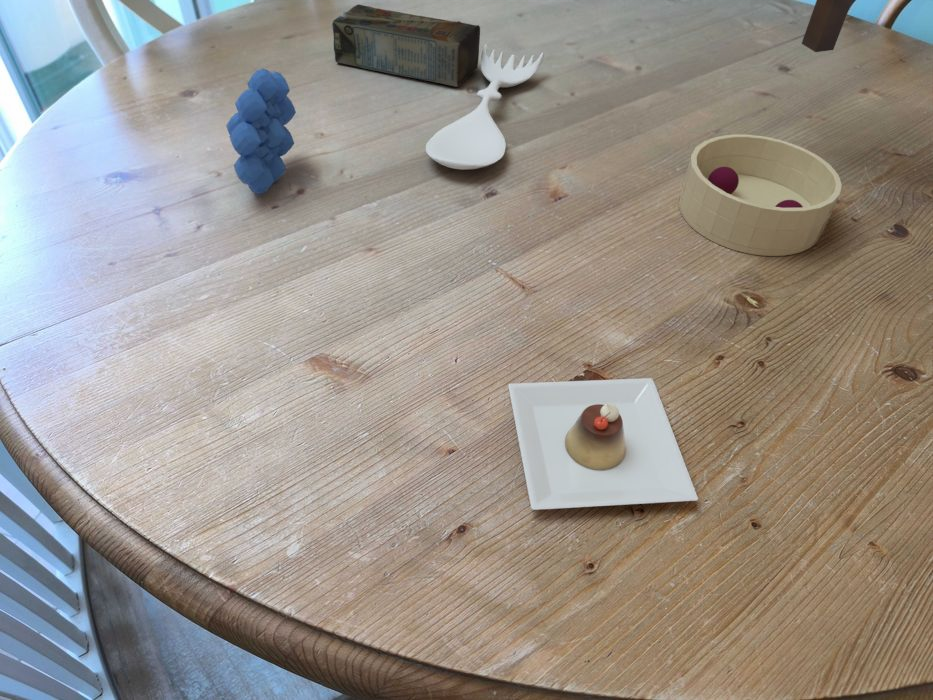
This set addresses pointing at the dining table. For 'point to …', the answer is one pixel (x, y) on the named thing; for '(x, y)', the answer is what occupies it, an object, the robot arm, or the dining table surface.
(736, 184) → the berry
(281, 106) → the grapes
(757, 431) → the dining table surface
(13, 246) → the dining table surface
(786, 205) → the berry
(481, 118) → the spoon
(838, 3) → the stick
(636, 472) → the dessert
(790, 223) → the bowl
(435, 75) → the beverage carton
